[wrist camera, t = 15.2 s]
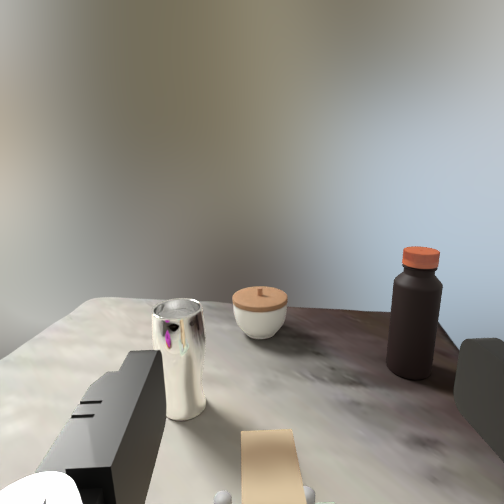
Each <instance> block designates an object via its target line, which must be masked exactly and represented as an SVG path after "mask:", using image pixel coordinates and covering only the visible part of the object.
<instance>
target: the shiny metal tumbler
mask: <svg viewBox="0 0 504 504" xmlns="http://www.w3.org/2000/svg"><path fill="white" fill-rule="evenodd" d="M151 313H152V342H153V349H154V350H160V351H161V353H162V359H163V370H164V381H165V391H166V405H167V409H166V416H167V417H168V418H170V419H172V420H177V421H184V420H189V419H192V418H194V417H196V416H198V415H199V414H200V413H201V412H202V411H203V410H204V409H205V406H206V398H205V394H204V391H203V387H202V373H203V365H204V358H205V348H206V331H205V322H204V315H203V306H202V304H201V302H199V301H197V300H194V299H189V298H177V299H170V300H166V301H163V302H160V303H158V304H156V305H155V306H154V307H153V308H152V310H151Z"/></svg>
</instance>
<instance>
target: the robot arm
mask: <svg viewBox="0 0 504 504" xmlns="http://www.w3.org/2000/svg"><path fill="white" fill-rule="evenodd" d="M454 399H455V403H456V405H457V408H458V410H459V412H460V413H461V414H462V416H463V417H464V418H465V419H466V420H467V421H468V423H469V424H470V425H471V426H472V427H473V428H474V429H475V430H476V432H477V433H478V434H479V435H480V436H481V437H482V438H483V439H484V441H485V442H486V443H487V444H488V445H489V446H490V447H491V448H492V450H493V451H494V452H495V453H496V454H497V455H498V456H499V458H500V459H501V460H502V461H503V462H504V342H503V341H502V340H500V339H498V338H476V339H466V340H464V341H463V342H462V344H461V346H460V352H459V358H458V364H457V371H456V377H455V384H454ZM166 409H167V405H166V391H165V381H164V370H163V359H162V353H161V351H160V350H141V351H130V352H129V353H128V355H127V357H126V358H125V360H124V362H123V364H122V366H121V368H120V369H119V371H117V372H107V373H105V374H104V375H103V376H102V377H100V378H99V379H98V380H97V381H95V382H94V383H93V384H92V385H90V387H89V388H88V390H87V392H86V393H85V395H84V396H83V398H82V399H81V401H80V404H79V405H78V406H77V407H76V409H75V410H74V412H73V414H72V417H71V419H69V420H68V421H67V423H66V424H65V426H64V428H63V429H62V431H61V432H60V434H59V435H58V437H57V439H56V440H55V442H54V443H53V445H52V446H51V448H50V450H49V451H48V453H47V454H46V456H45V457H44V459H43V461H42V462H41V464H40V465H39V467H38V468H37V470H36V471H35V473H34V475H32V476H28V477H26V478H24V479H21V480H19V481H17V482H15V483H14V484H12V485H10V486H8V487H7V488H5V489H4V490H2V491H1V492H0V504H145V500H146V496H147V492H148V489H149V485H150V481H151V477H152V473H153V469H154V466H155V462H156V458H157V454H158V450H159V447H160V443H161V439H162V435H163V431H164V427H165V422H166Z"/></svg>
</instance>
